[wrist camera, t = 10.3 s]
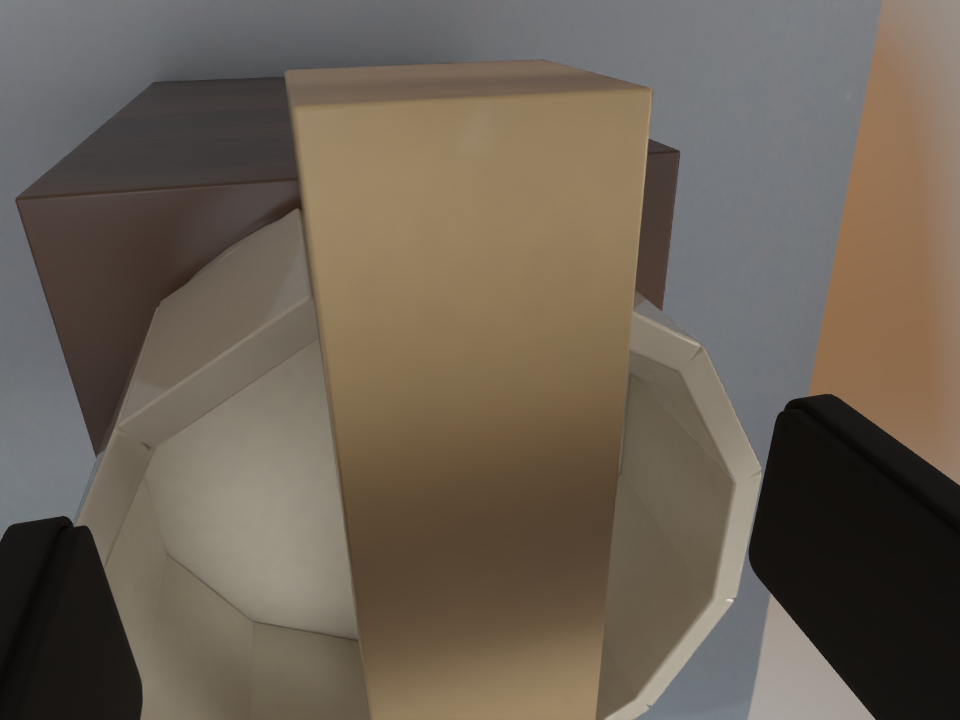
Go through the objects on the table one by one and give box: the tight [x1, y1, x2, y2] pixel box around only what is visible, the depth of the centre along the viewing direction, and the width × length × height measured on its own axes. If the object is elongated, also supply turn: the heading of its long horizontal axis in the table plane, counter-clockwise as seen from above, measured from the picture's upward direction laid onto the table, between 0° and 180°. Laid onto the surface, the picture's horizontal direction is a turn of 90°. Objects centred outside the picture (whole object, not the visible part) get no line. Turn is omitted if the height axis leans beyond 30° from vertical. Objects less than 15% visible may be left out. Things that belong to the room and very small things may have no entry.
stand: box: [15, 77, 680, 458], centre depth 25 cm, size 13×13×18 cm
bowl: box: [73, 208, 762, 720], centre depth 15 cm, size 12×12×5 cm
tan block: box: [284, 59, 653, 720], centre depth 12 cm, size 18×3×3 cm, turn 1°
